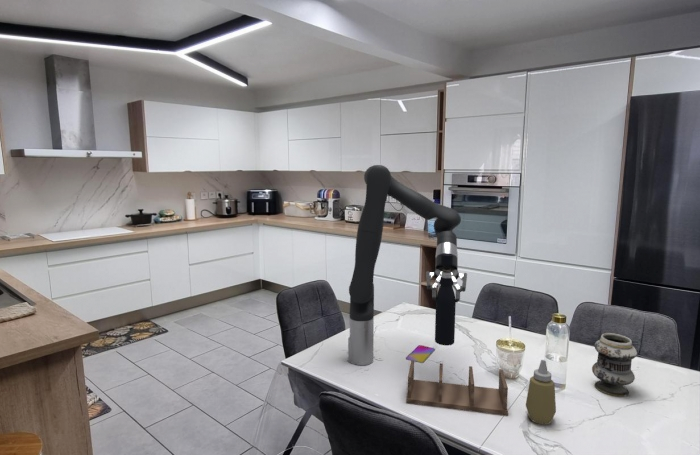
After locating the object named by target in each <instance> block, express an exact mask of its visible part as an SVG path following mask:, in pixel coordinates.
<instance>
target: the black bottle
mask: <svg viewBox="0 0 700 455" xmlns="http://www.w3.org/2000/svg"><path fill="white" fill-rule="evenodd" d="M441 264H442V265H443V271H442V273H441V274H442V275H441V276H442V277H441V283H440V286H439V287H438V289H437V292H436V301H435V317H434V318H435V321H434V322H435V324H434V342H435V343H436V344H438V345H441V346H452V345H454V344H455V335H456V334H455V333H456V332H455V331H456V307H457V306H456V304H457V302H456V293H455V291H454V290H455V289H454V288H453V286H452V277H451V276H452V275H451V274H452V273H451V272H450V270H451V265H453V254H448V253H444V254H441Z"/></svg>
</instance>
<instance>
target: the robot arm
mask: <svg viewBox="0 0 700 455" xmlns="http://www.w3.org/2000/svg"><path fill="white" fill-rule="evenodd" d="M363 176H364V177H363V179H364V182H365V184H366V185H365V186H366V191H365V201H364V206H363V209H362V212H361V215H360V218H359V221H358V226H357V232H356V239H355V240H356V241H355V254H354V258H355V259H354V268H353V273H352V277H351V281H350V284H349V286H348V294H349V296H350V298H349V302H350V303H349V336H348V339H347V343H348V344H347V349H348V350H347V353H348V354H347V362H348V363H350V364H351V363H352V364H354V365H357V366H367V365H370V364H372V363H373V362H374V337H375V336H374V334H375V333H374V324H375V322H374V318H375V317H374V314H375V284H374V275H375V274H374V273H375V267H376V263H377V260H378V257H379V252H380V249H381V243H382V238H383V230H384V221H385V209H386V208H385V207H386V202H387V197H388V196H389V197H391V198H393V199H394V200H396V201H397V202H399V203H400V204H402V205H403V206H404V207H406V208H407V209H408V210H410V211H412V212H413V213H415V214H416V215H417V216H419V217H421V218H423V219H425V220H426V221H429V220H432V219H435V218H436V219H435V220H434V223H433V230H434V234H435V237H436V250H435V266H434V267H435V269H434V271H433V272H432V271H431V272H430V271H429V270H427V271H426V272H425V277H426V278H425V279H426V280H425V281H426V289H427V290H429V291H430V290H431V292H432V293H431V298H432V300H433V301H434V302H436V297H437V291H438V289H439V288H440V283H441V277H442V276H441V275H442V274H441V273H442V271H443V265H442V264H441V254H444V253H448V254H453V265H451V270H450V272H451V273H452V274H451V275H452V276H451V277H452V287H453V290H455V300H456V304H457V303H459V301H461V292H466V290H467V279H468V273H467V272H463V273H460V272H459V271H458V269H459V268H458V267H459V266H458V265H459V264H458V261H459V260H458V258H459V256H458V240H457V235H456V233H455V232H454V231H453V230H454V229H455V228H457V227H458V226H459V225H460V223H461V220H462V219H461V218H462V217H461V215H460V214H459V212H458V211H457V210H456V209H454V208H452V207H449V206H445V205H442V204H439V203H437V202H434V201H432V200H431V199H429V198H428V197H426V196H425V195H423V194H422V193H420V192H417V191H416V190H414V189H412V188H411V187H408V186H407V185H404V184H403V183H401V182H400V181H398V180H397V179H396V178H394V176H392V175H391V171H390V170H389V168H387V166H385V165H382V164H373V165H371V166H369V167H368V168H367V169H366V170H365V171H364V174H363ZM433 277H434V278H435V282H434V283H433V284H432V283H431V279H432V280H433ZM459 278H460V281H462V284H461V286H460V285H459V283H458V281H457V280H458V279H459Z"/></svg>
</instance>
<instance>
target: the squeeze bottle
mask: <svg viewBox="0 0 700 455" xmlns="http://www.w3.org/2000/svg"><path fill="white" fill-rule="evenodd" d="M555 388H556V387H555V382H554V380H552V373H551V372H550V371H548V366H547V361H546V360H545V359H541V360H540V363H539V365H538V368H536V369H534V371H533V376H531V377H530V378H529V384H528V390H527V396H526V402H525V408H526V410H527V414H528V418H529V419H530V420H531V421H532V422H534V423H537V424H539V425H548V424H550V423H551V422H552V421H553V419H554V417H555V415H556V411H557V406H556V404H557V403H556V389H555Z"/></svg>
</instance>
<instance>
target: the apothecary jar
mask: <svg viewBox="0 0 700 455" xmlns="http://www.w3.org/2000/svg"><path fill="white" fill-rule="evenodd" d="M632 342H633V341H632V339H631V338H629V337H627V336H625V335H622V334H618V333H614V332H612V333H611V332H606V333H602V334H601V336H600V338H599V339H597V340H596V341H595V343H594V349H595V351H596V352H597V360H596V362H595V363H594V364H593V365H592V367H591V371H592V374H593V375H594V376H595V377H596V378H597V379H598V380H597V381H595V383H594V387H595V388H596V389H597V390H598V391H600V392H601V393H604V394H606V395H609V396H613V397H624V396H629V395H630V391H629V389H628V388H627V387H626V386H629V385H631V384H633V383H634V381H635V379H636V378H635V372H633V371H632V361H633V360H634V359H635V358H636V357H637V355H638V352H637V349H636V348H635V346H633V343H632Z"/></svg>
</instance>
